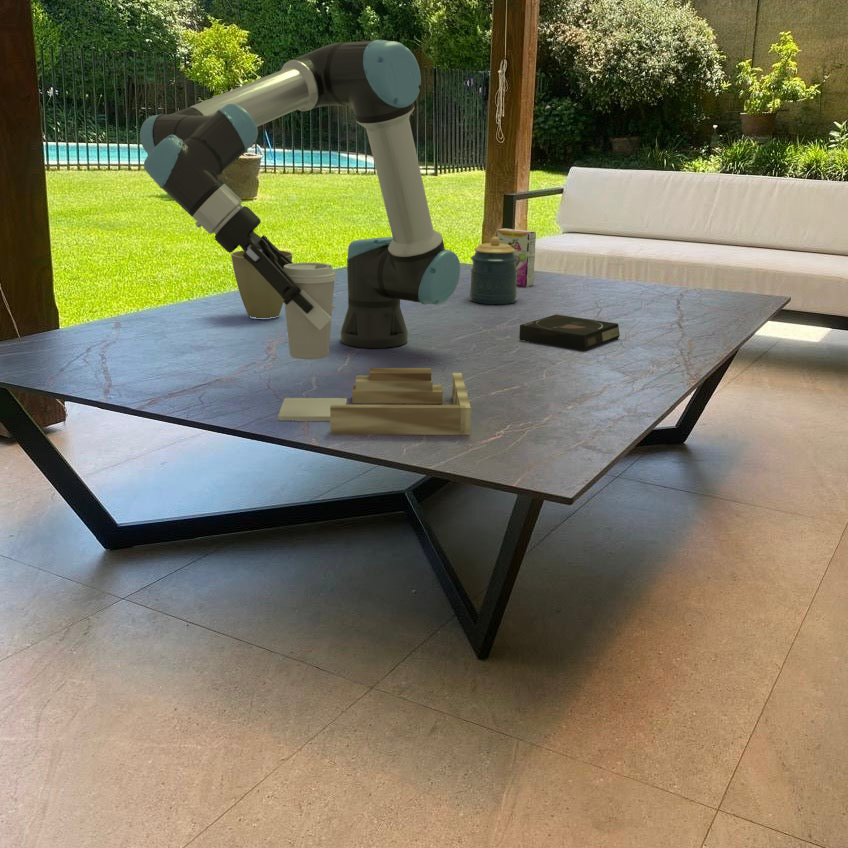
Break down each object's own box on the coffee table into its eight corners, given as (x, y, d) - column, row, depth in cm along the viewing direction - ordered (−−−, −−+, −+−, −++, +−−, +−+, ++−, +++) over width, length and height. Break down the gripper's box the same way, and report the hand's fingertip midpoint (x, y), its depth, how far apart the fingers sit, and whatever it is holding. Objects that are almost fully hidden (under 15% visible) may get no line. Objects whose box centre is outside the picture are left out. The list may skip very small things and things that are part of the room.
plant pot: (229, 323, 237) (226, 257, 232) (238, 311, 251) (235, 249, 246) (291, 323, 237) (289, 257, 232) (296, 311, 251) (295, 249, 246)
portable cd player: (585, 353, 214) (586, 335, 212) (519, 342, 223) (519, 325, 222) (619, 340, 226) (620, 324, 225) (555, 330, 236) (556, 314, 235)
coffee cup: (321, 364, 159) (320, 272, 154) (270, 358, 162) (267, 267, 157) (347, 351, 167) (346, 264, 163) (298, 346, 170) (296, 260, 166)
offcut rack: (338, 396, 177) (337, 372, 176) (460, 396, 178) (461, 373, 176) (330, 434, 156) (330, 407, 155) (470, 434, 157) (470, 408, 155)
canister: (503, 307, 261) (505, 240, 256) (461, 301, 268) (462, 237, 262) (524, 299, 272) (527, 236, 266) (483, 295, 278) (485, 232, 273)
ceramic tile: (285, 402, 173) (284, 397, 173) (346, 402, 173) (346, 398, 173) (278, 420, 163) (277, 416, 162) (344, 421, 163) (343, 416, 163)
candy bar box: (493, 284, 297) (495, 229, 292) (501, 281, 301) (503, 228, 296) (526, 287, 291) (529, 232, 286) (534, 285, 295) (536, 230, 290)
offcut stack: (353, 396, 177) (353, 367, 176) (441, 396, 178) (441, 367, 176) (352, 403, 173) (352, 373, 171) (442, 403, 173) (442, 374, 172)
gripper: (223, 229, 169) (316, 320, 174) (199, 245, 147) (306, 348, 153) (253, 198, 167) (346, 291, 172) (233, 209, 146) (340, 315, 151)
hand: (327, 317), depth 163 cm, fingers closed on coffee cup, 9 cm apart
